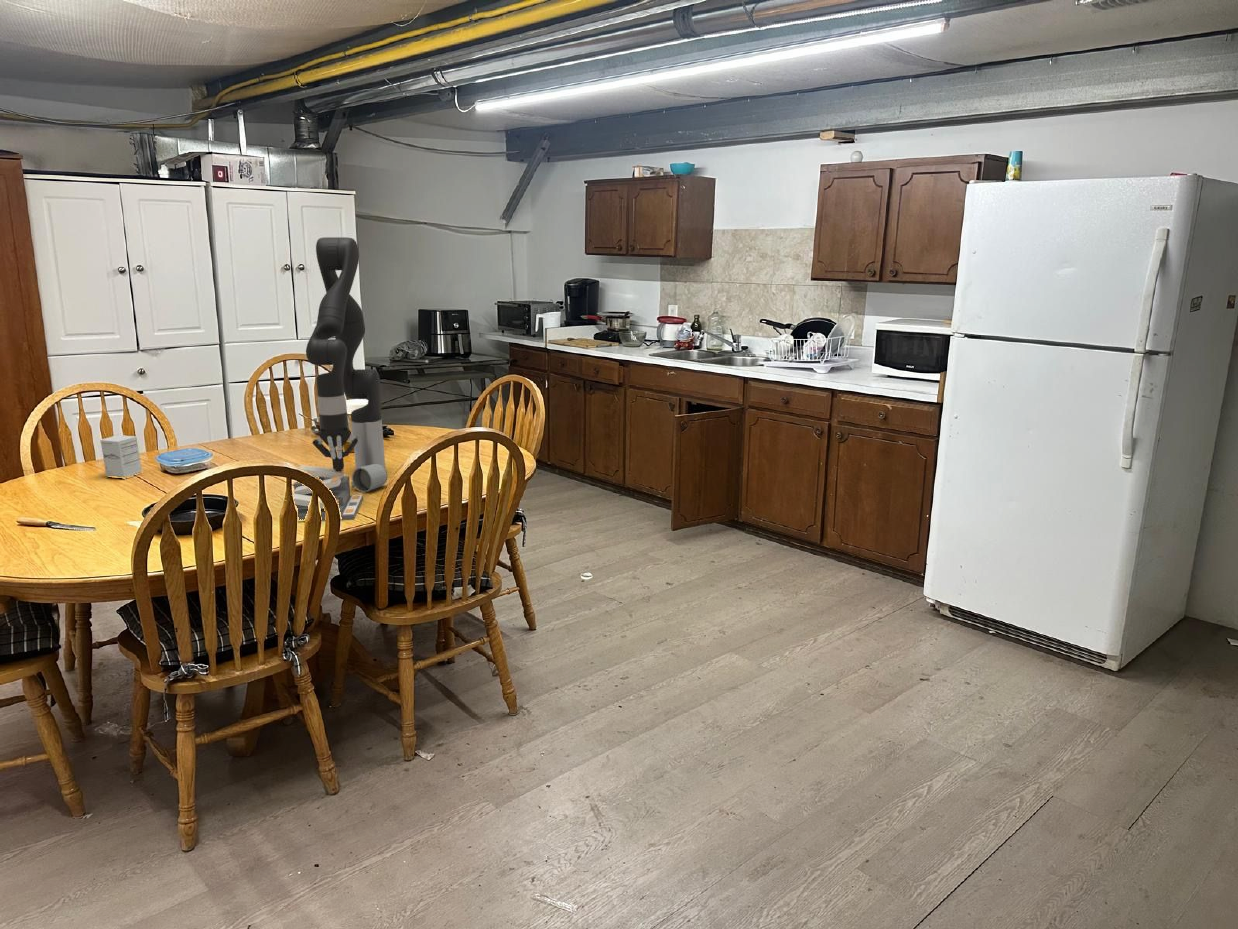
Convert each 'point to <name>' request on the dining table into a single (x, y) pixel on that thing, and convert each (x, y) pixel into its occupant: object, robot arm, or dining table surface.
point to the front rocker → (305, 500)
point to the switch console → (342, 493)
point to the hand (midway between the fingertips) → (338, 470)
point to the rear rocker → (323, 471)
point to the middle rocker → (329, 482)
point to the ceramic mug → (369, 477)
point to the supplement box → (121, 456)
